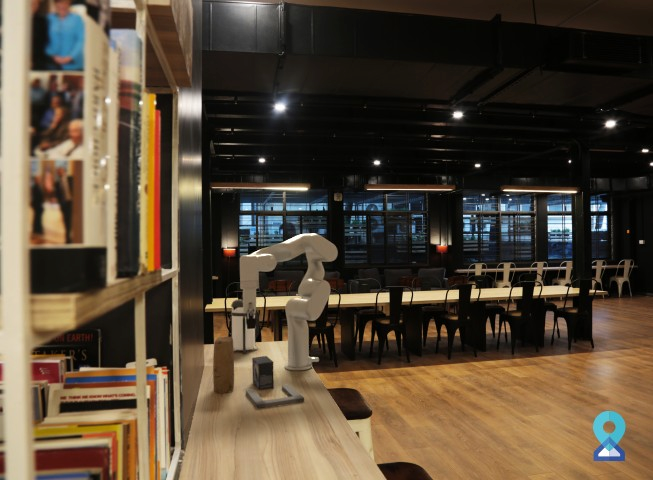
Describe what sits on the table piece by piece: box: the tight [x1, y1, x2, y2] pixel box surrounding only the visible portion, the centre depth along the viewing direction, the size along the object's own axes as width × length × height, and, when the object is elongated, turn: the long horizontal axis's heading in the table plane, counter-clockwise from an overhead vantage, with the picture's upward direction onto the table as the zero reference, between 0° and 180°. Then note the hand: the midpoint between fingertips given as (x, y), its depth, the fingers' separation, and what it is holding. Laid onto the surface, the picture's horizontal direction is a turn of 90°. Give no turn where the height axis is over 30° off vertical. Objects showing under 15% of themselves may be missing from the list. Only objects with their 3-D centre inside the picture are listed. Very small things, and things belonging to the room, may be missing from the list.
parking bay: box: [245, 384, 305, 410], centre depth 164 cm, size 17×17×2 cm
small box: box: [251, 355, 275, 391], centre depth 179 cm, size 11×6×10 cm, turn 23°
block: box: [212, 336, 235, 394], centre depth 174 cm, size 11×8×20 cm
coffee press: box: [230, 294, 260, 355], centre depth 242 cm, size 17×16×30 cm
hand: (250, 326), depth 185 cm, fingers open, 9 cm apart
